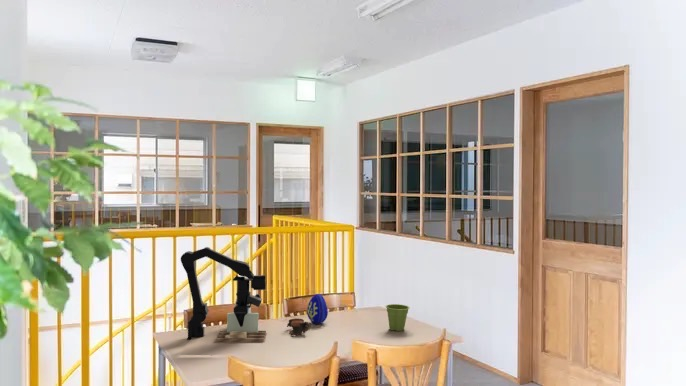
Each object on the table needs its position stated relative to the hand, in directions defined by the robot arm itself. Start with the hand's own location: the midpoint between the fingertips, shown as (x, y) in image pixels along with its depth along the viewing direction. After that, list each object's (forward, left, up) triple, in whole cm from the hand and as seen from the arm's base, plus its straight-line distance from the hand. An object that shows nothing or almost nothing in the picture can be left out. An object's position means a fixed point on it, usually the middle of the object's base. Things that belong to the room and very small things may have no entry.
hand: (242, 324), depth 246 cm
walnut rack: (0, -4, -6) cm, 7 cm away
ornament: (+35, +26, -6) cm, 44 cm away
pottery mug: (+26, +6, -6) cm, 27 cm away
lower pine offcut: (-2, -8, -5) cm, 10 cm away
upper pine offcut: (-1, -8, -3) cm, 9 cm away
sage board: (0, 0, -5) cm, 5 cm away
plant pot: (+74, +14, -6) cm, 76 cm away
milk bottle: (-2, +17, -6) cm, 18 cm away
